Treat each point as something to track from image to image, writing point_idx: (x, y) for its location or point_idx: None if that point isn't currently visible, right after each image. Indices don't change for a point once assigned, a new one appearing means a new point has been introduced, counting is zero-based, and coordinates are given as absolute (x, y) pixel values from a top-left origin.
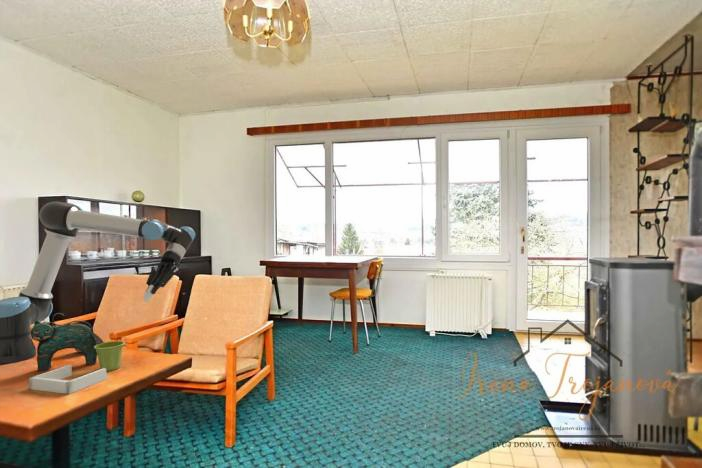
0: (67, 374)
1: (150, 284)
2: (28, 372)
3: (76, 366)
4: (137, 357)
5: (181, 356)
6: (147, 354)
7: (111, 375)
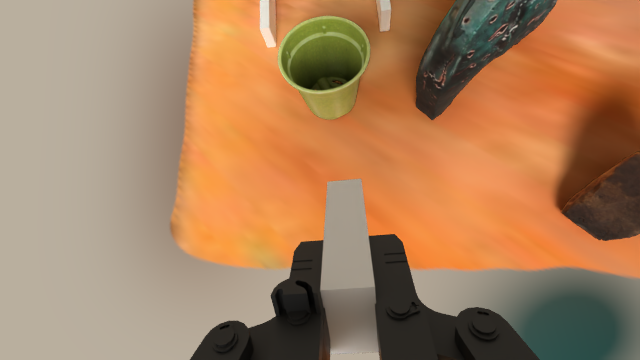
0: (379, 17)
1: (386, 300)
2: None
3: None
4: None
5: (208, 258)
6: None
7: None
